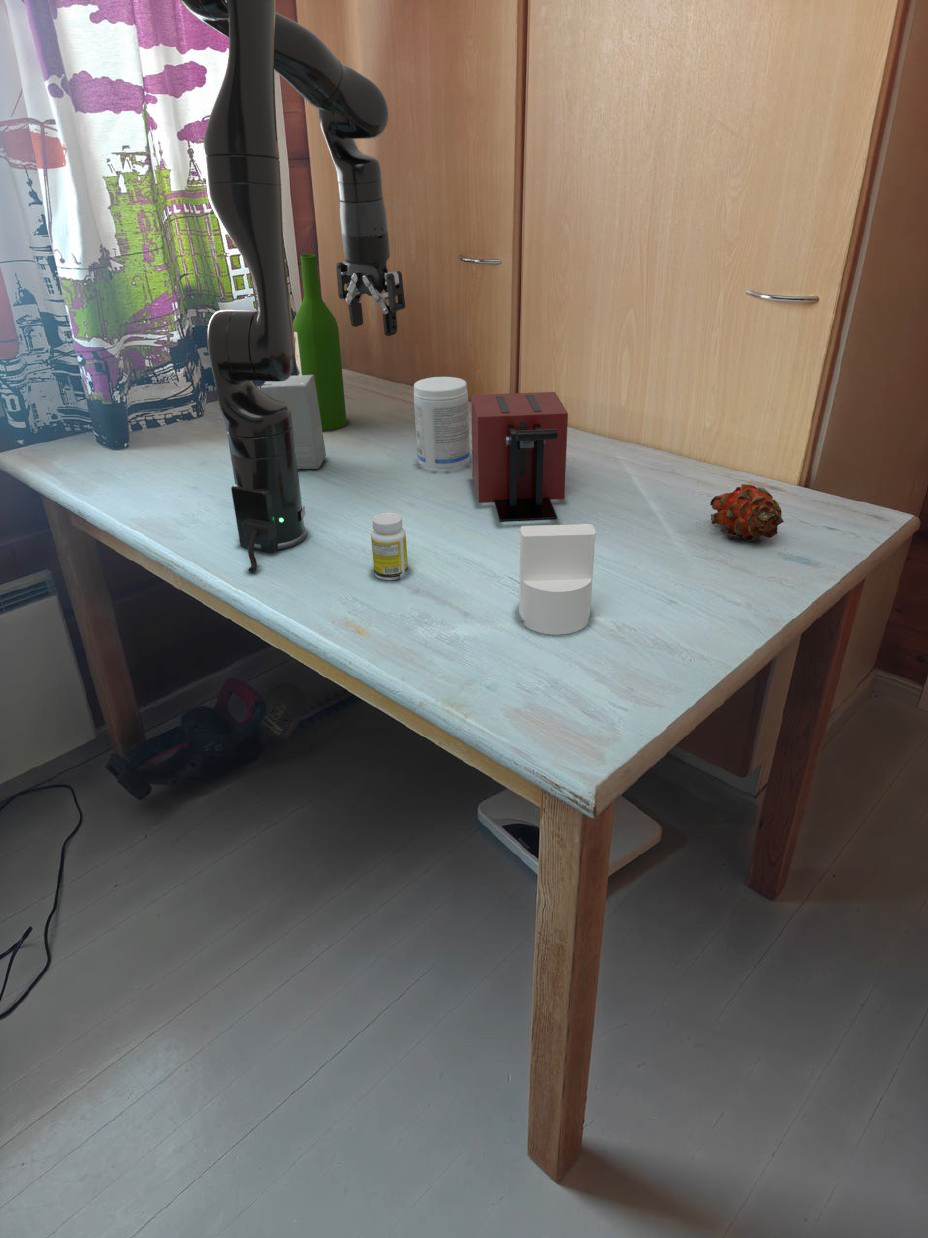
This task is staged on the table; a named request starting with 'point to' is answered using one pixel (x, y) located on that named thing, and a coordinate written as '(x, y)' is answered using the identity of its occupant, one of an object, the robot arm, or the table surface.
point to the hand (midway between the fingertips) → (373, 330)
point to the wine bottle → (319, 348)
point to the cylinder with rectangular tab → (556, 577)
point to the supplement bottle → (389, 546)
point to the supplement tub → (442, 422)
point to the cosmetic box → (302, 417)
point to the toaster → (492, 451)
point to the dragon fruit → (747, 512)
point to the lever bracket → (536, 505)
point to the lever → (534, 437)
